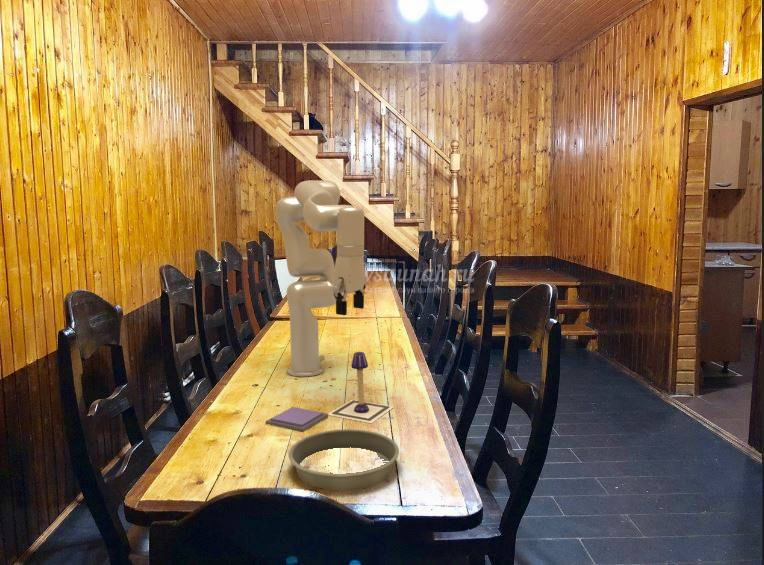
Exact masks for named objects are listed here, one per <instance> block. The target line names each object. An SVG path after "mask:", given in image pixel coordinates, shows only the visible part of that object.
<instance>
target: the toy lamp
mask: <svg viewBox="0 0 764 565" xmlns="http://www.w3.org/2000/svg"><path fill="white" fill-rule="evenodd" d="M350 367H351V368H352V369H353V370H356V373H357V374H356V377H357V384H356V385H357V393H358V394H357V398H358V403H359V404H357V405H356V406H355V408H354V411H355V412H356V413H366V412H368V411H369V408H368V406H367V405H366V404H364V402H365V395H364V393H365V390H364V387H365V385H364V378H363V377H364V373H363V372H364V369H366V368H369V363H368V360H367V357H366V354H365V353H364V352H362V351H357V352H354V353H353V357H352V361H351V366H350Z"/></svg>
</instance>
